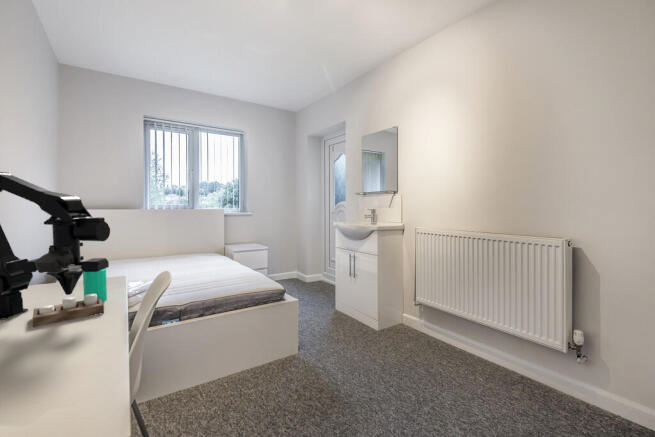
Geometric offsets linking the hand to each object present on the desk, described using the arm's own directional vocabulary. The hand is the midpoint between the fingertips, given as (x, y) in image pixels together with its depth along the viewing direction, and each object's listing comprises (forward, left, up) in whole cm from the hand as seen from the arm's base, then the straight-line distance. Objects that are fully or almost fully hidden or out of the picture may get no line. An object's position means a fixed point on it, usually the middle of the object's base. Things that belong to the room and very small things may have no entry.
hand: (68, 294), depth 86 cm
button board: (0, 0, -6) cm, 6 cm away
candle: (-2, +12, -6) cm, 13 cm away
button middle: (0, 0, -4) cm, 4 cm away
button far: (+3, +3, -5) cm, 7 cm away
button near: (-3, -3, -6) cm, 7 cm away
